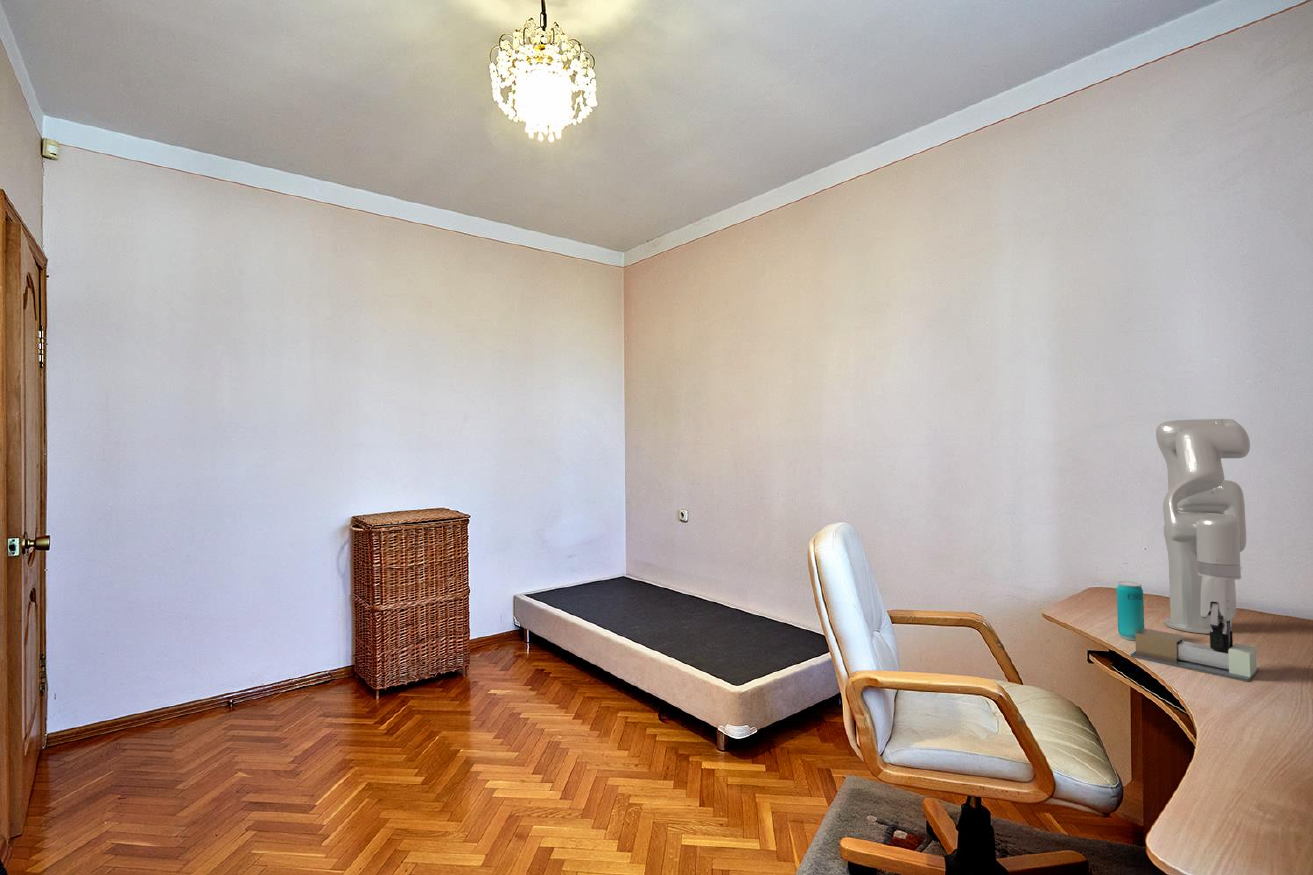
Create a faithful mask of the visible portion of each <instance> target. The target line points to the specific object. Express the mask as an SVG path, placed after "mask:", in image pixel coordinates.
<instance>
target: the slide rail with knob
mask: <svg viewBox="0 0 1313 875" xmlns="http://www.w3.org/2000/svg"><path fill="white" fill-rule="evenodd" d="M1179 641H1184V635H1183V634H1176V633H1173V632H1166V631H1161V630H1156V629H1150V628H1145V627H1144V628H1143V629H1141V630H1139V631H1138V632H1136V633H1135V651H1134V652H1131V654H1130V658H1134V659H1138V660H1144V661H1148V662H1153V663H1158V664H1163V665H1167V666H1172V667H1177V668H1180V669H1186V670H1192V671H1196V672H1199V673H1204V674H1209V675H1214V676H1219V677H1224V678H1228V679H1233V680H1237V681H1242V682H1247V683H1249V682H1250V681H1251V680H1252V679H1253V677H1254V676H1255V675H1256V674H1257V672H1259V667H1257V670H1256V671H1255V672H1254V673H1253V675H1252V676H1251V677H1247V676H1242V675H1237V674H1233V673H1229V669H1224V668H1219V667H1214V666H1209V665H1205V664H1200V663H1195V662H1190V661H1185V660H1180V659H1177V642H1179Z"/></svg>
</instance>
